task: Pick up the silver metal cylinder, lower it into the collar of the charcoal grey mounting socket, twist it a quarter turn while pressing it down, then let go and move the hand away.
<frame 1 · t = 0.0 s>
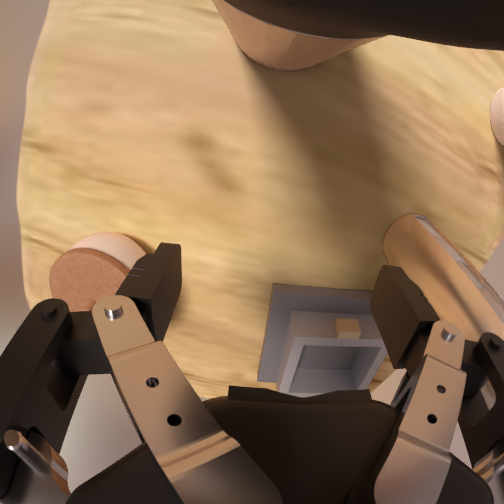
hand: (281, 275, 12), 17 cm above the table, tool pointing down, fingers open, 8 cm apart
silver metal cylinder: (408, 239, 30), on the table
filter socket: (326, 338, 37), on the table
lidded jar: (123, 258, 32), on the table
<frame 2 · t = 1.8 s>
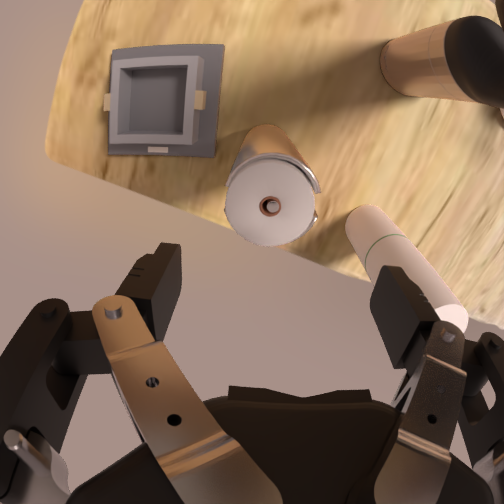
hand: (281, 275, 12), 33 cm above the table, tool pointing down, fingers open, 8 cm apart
silver metal cylinder: (266, 146, 41), on the table
filter socket: (163, 99, 38), on the table
cylindrical container: (366, 225, 46), on the table
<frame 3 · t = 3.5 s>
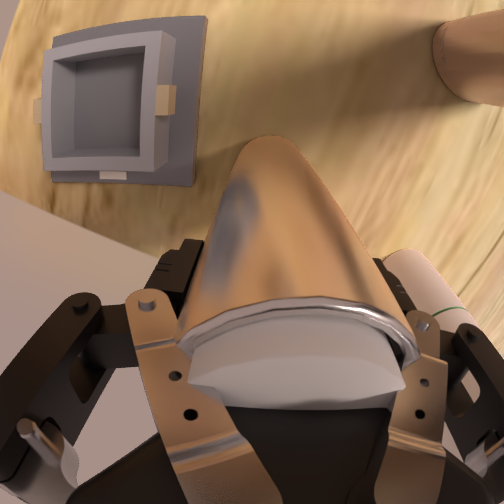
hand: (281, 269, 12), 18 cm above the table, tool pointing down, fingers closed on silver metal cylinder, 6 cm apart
silver metal cylinder: (270, 168, 28), on the table, touching gripper
filter socket: (119, 101, 25), on the table
cylindrical container: (401, 274, 33), on the table
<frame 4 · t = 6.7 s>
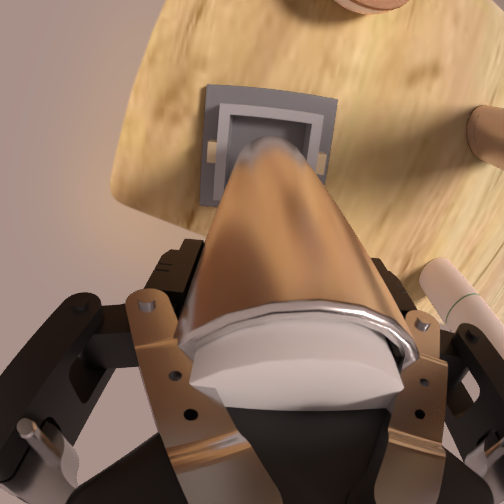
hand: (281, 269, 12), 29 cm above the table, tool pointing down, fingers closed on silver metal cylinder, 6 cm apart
silver metal cylinder: (270, 169, 28), point 11 cm above the table, touching gripper
filter socket: (266, 149, 38), on the table
cylindrical container: (435, 274, 46), on the table
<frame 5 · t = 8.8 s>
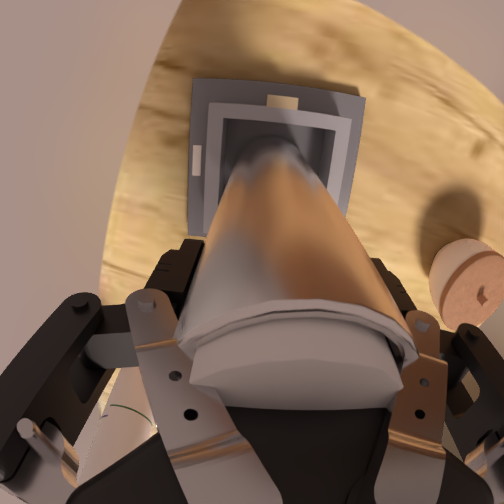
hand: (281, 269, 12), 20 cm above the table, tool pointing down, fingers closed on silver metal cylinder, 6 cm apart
silver metal cylinder: (270, 169, 28), point 2 cm above the table, touching gripper
filter socket: (272, 163, 29), on the table
cylindrical container: (147, 363, 45), on the table
lidded jar: (449, 261, 34), on the table
when the fingers open (19 cm above the table, at t = 10.0 s): silver metal cylinder stays where it is, resting on filter socket.
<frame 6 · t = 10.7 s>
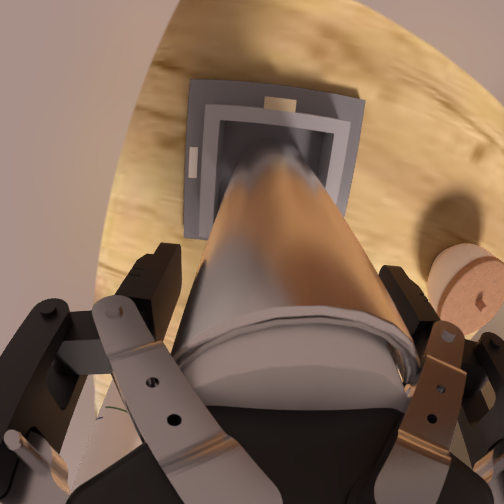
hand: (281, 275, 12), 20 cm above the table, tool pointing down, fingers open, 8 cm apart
silver metal cylinder: (270, 170, 28), point 1 cm above the table, touching filter socket
filter socket: (269, 165, 29), on the table
cylindrical container: (142, 365, 44), on the table
lidded jar: (448, 266, 34), on the table
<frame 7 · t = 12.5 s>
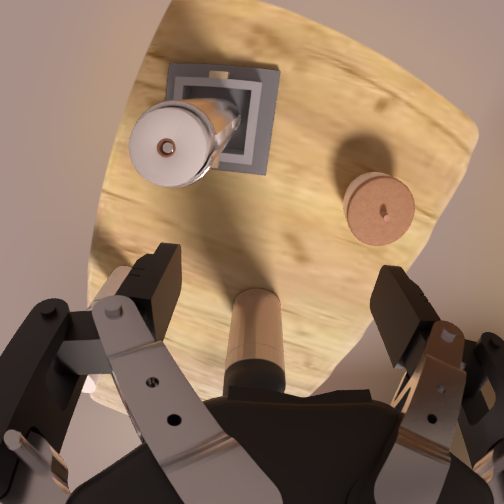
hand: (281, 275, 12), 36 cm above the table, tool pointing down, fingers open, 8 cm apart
silver metal cylinder: (218, 118, 41), point 1 cm above the table, touching filter socket
filter socket: (219, 116, 42), on the table
cylindrical container: (128, 280, 57), on the table
lidded jar: (366, 195, 48), on the table
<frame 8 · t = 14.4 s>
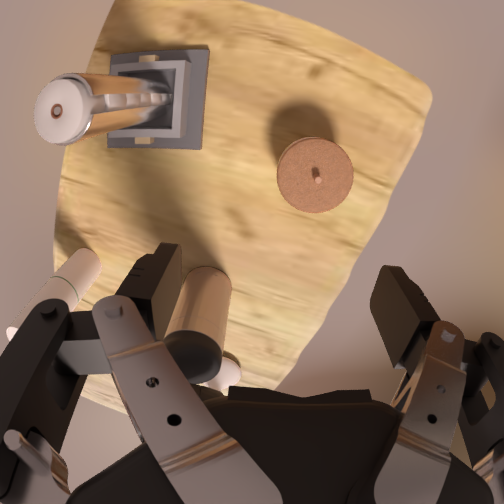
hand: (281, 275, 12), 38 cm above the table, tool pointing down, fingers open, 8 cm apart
silver metal cylinder: (153, 100, 41), point 1 cm above the table, touching filter socket
filter socket: (156, 98, 42), on the table
cylindrical container: (87, 262, 57), on the table
lidded jar: (307, 164, 47), on the table
flower in vase: (215, 367, 70), on the table
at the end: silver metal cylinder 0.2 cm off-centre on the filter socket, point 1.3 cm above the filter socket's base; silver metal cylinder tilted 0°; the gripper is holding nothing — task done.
